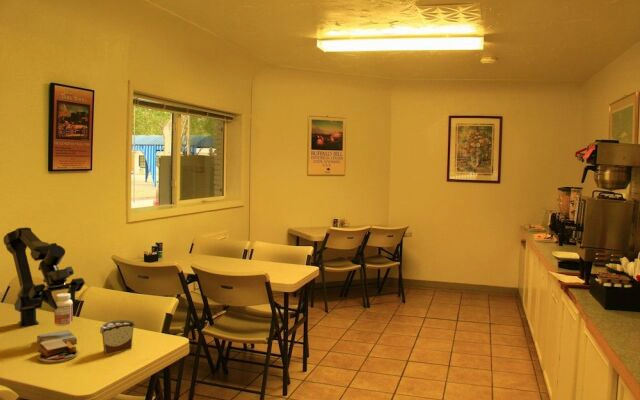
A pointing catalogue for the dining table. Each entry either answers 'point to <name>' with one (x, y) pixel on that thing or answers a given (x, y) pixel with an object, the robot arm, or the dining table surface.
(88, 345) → the dining table surface
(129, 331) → the food container
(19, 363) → the dining table surface
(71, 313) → the pill bottle
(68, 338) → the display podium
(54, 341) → the toy sandwich meal
